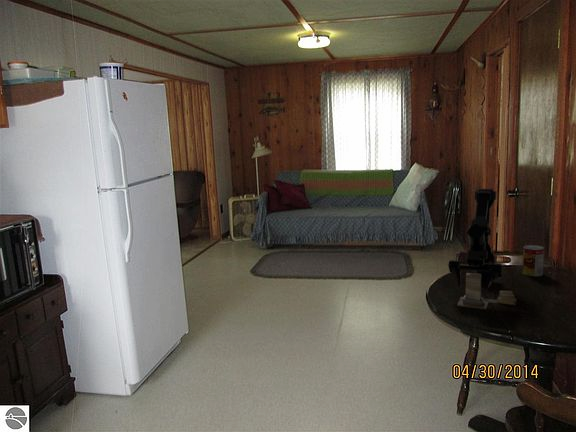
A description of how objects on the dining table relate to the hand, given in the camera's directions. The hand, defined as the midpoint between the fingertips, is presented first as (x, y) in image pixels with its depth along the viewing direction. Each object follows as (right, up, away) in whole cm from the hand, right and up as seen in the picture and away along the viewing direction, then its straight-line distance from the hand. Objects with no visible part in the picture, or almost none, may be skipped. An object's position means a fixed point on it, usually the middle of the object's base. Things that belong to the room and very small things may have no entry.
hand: (472, 288), depth 172 cm
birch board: (+1, -6, +2) cm, 6 cm away
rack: (+6, -6, +2) cm, 9 cm away
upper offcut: (+13, -3, +2) cm, 14 cm away
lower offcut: (+13, -5, +2) cm, 15 cm away
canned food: (+40, +1, +34) cm, 52 cm away
